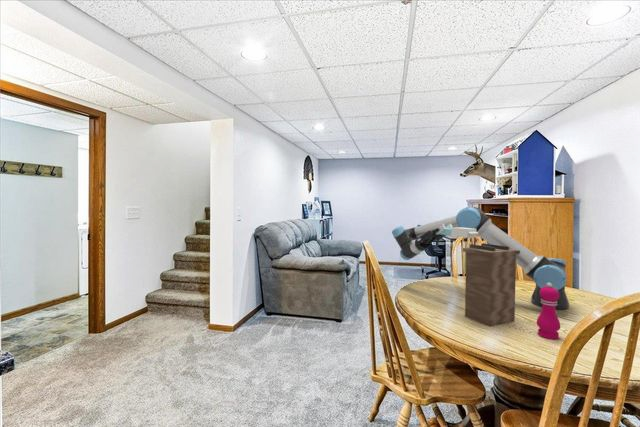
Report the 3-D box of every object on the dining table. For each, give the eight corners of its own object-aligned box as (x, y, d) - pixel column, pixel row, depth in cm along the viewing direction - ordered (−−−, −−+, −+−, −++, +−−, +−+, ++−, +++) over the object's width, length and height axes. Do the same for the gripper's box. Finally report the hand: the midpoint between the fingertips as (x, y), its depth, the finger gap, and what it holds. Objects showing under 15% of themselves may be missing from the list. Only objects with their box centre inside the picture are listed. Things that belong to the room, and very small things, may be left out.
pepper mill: (534, 336, 118) (536, 282, 118) (538, 330, 124) (539, 279, 123) (558, 341, 113) (560, 286, 113) (561, 335, 119) (562, 282, 118)
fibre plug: (442, 233, 165) (442, 225, 165) (480, 237, 143) (480, 229, 143) (433, 233, 162) (433, 226, 162) (470, 238, 141) (470, 229, 141)
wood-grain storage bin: (489, 311, 146) (490, 243, 145) (518, 321, 133) (520, 246, 132) (461, 316, 139) (462, 244, 138) (489, 327, 126) (491, 248, 125)
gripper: (434, 250, 178) (463, 232, 159) (409, 251, 171) (437, 233, 152) (429, 238, 181) (458, 219, 162) (405, 239, 175) (431, 219, 156)
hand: (447, 226), depth 157 cm, fingers closed on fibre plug, 4 cm apart
